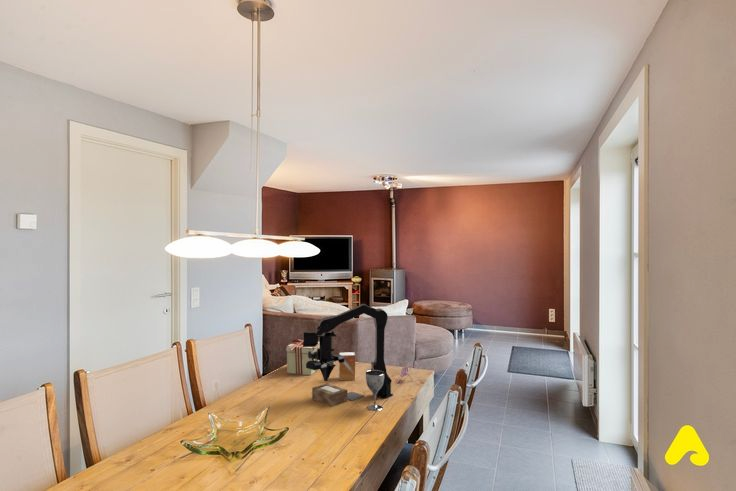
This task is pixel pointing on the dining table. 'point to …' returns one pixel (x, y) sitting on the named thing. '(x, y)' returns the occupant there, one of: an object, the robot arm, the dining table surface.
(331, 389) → the block
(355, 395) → the mat
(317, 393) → the rectangular frame
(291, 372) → the gift box
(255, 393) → the dining table surface
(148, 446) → the dining table surface
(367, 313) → the robot arm
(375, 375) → the wine glass
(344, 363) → the small box
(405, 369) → the lily
